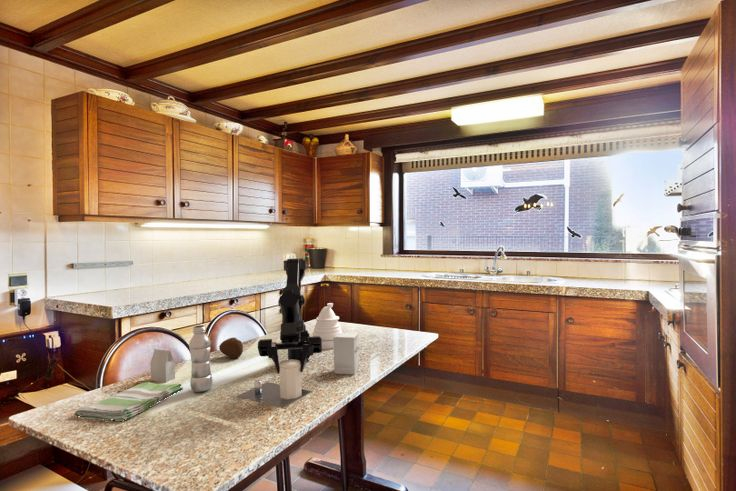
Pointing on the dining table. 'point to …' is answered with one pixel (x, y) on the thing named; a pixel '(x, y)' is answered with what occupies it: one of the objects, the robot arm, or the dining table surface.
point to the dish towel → (128, 402)
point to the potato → (231, 347)
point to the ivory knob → (290, 379)
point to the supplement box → (346, 353)
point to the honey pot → (327, 326)
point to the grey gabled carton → (162, 366)
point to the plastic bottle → (200, 360)
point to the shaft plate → (269, 394)
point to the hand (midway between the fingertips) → (289, 372)
